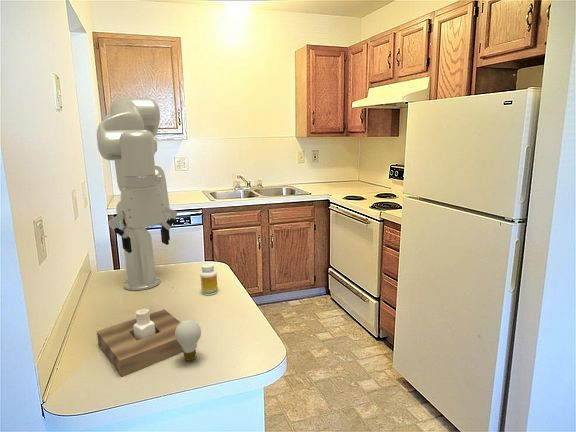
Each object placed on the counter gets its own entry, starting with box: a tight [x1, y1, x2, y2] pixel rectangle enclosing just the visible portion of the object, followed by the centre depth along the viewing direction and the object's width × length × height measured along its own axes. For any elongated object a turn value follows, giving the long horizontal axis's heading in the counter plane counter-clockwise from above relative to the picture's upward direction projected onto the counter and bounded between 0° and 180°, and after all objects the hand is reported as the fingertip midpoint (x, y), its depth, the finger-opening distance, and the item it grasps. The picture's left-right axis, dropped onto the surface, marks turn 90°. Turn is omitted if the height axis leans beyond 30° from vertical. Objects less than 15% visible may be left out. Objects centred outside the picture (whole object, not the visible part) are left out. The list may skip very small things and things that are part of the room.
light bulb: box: [175, 319, 202, 361], centre depth 91 cm, size 6×6×10 cm
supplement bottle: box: [199, 263, 219, 296], centre depth 130 cm, size 5×5×10 cm
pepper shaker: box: [133, 308, 156, 340], centre depth 98 cm, size 4×4×10 cm
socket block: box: [96, 309, 184, 377], centre depth 98 cm, size 18×18×4 cm
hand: (147, 247), depth 101 cm, fingers open, 9 cm apart
